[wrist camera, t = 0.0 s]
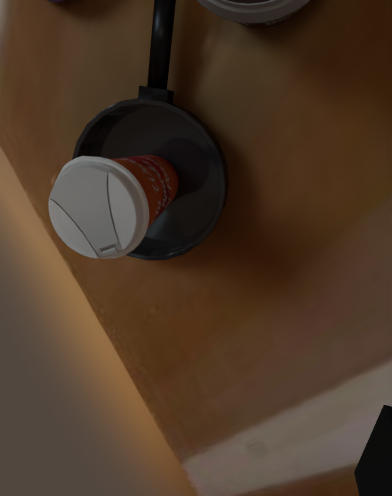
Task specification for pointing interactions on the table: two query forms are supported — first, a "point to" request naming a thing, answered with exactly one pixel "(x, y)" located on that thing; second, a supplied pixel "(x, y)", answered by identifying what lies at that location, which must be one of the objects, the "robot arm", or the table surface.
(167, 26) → the pan handle
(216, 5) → the food container
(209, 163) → the pan
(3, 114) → the table surface
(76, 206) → the paper cup
